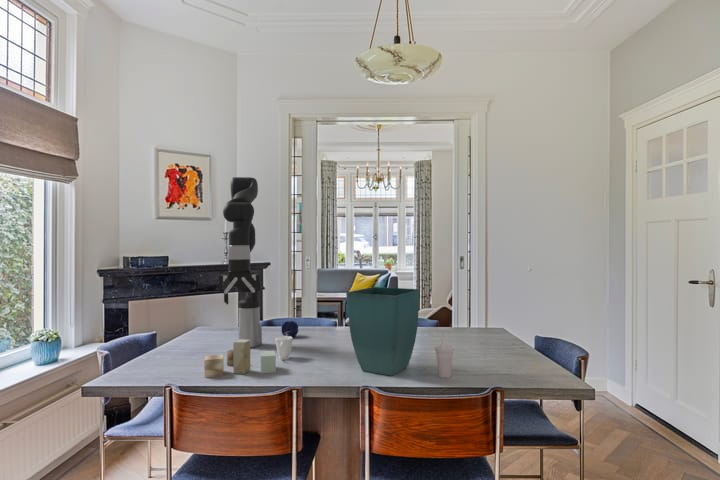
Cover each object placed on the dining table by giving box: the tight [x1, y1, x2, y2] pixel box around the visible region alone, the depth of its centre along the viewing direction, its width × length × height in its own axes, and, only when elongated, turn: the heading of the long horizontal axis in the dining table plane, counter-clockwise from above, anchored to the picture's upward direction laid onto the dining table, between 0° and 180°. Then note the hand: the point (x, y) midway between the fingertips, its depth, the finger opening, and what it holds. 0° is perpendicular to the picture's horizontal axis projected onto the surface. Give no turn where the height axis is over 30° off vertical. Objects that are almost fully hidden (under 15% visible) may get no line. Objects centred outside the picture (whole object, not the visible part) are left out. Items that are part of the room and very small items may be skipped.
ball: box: [281, 320, 299, 338], centre depth 210 cm, size 8×8×8 cm
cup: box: [275, 335, 294, 361], centre depth 170 cm, size 7×10×8 cm
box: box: [232, 339, 251, 375], centre depth 154 cm, size 5×4×11 cm
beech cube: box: [204, 354, 225, 378], centre depth 152 cm, size 6×6×6 cm
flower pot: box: [345, 286, 421, 376], centre depth 154 cm, size 20×20×28 cm
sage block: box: [259, 350, 277, 374], centre depth 156 cm, size 5×7×6 cm
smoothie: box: [434, 333, 455, 379], centre depth 146 cm, size 6×6×14 cm
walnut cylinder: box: [226, 349, 233, 367], centre depth 164 cm, size 5×5×5 cm
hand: (239, 303), depth 154 cm, fingers open, 8 cm apart
